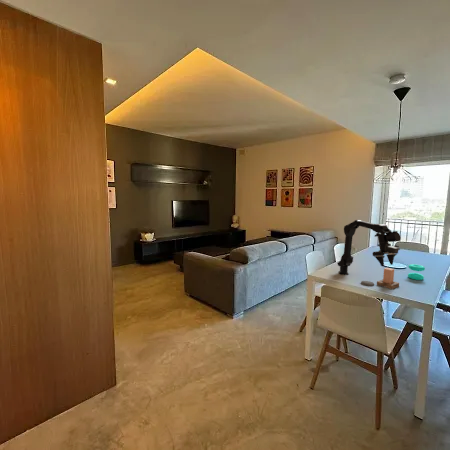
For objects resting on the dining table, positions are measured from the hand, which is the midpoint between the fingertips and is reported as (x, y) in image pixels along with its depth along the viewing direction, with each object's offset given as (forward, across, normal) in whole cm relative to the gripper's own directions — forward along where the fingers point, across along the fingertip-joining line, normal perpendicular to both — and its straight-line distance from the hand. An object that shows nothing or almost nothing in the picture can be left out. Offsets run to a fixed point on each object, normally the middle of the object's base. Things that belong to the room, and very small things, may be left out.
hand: (387, 265), depth 176 cm
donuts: (+14, +40, +7) cm, 43 cm away
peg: (+15, +5, +6) cm, 16 cm away
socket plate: (+15, +5, +6) cm, 16 cm away
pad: (+13, -5, +13) cm, 19 cm away
